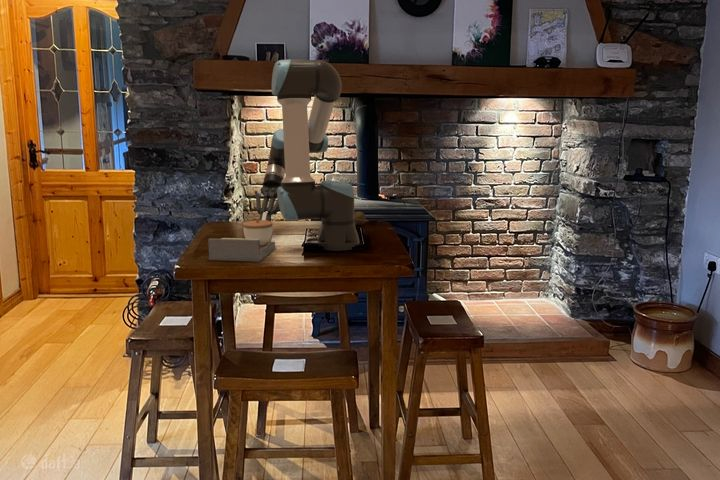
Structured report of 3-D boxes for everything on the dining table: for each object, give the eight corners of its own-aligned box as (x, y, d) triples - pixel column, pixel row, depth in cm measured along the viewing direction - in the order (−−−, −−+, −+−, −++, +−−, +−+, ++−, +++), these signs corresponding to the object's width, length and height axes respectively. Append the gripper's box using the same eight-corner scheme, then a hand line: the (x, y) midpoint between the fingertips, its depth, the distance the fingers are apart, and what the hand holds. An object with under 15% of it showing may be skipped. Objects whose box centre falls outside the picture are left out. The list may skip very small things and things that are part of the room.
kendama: (331, 223, 276) (373, 225, 268) (320, 228, 268) (363, 230, 259) (330, 209, 275) (373, 211, 266) (319, 214, 266) (363, 216, 258)
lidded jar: (267, 247, 230) (266, 221, 228) (239, 246, 232) (237, 220, 230) (277, 241, 240) (276, 216, 238) (250, 240, 243) (248, 215, 241)
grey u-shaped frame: (275, 248, 228) (274, 229, 226) (259, 261, 210) (258, 240, 208) (229, 247, 230) (228, 228, 229) (209, 260, 213) (208, 239, 211)
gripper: (291, 184, 257) (281, 234, 245) (260, 184, 259) (248, 233, 247) (287, 172, 251) (277, 223, 239) (255, 172, 253) (243, 222, 241)
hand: (262, 228), depth 243 cm, fingers closed
